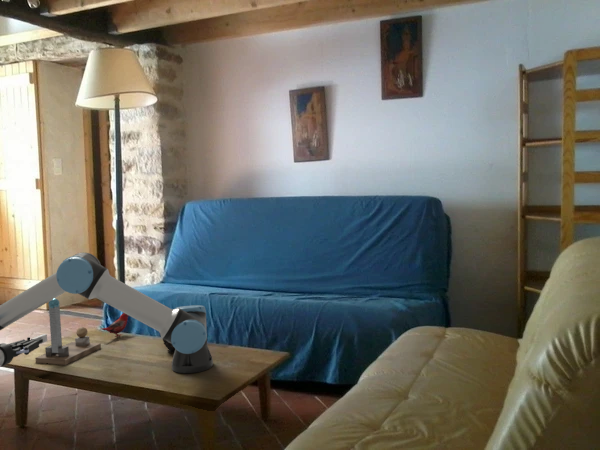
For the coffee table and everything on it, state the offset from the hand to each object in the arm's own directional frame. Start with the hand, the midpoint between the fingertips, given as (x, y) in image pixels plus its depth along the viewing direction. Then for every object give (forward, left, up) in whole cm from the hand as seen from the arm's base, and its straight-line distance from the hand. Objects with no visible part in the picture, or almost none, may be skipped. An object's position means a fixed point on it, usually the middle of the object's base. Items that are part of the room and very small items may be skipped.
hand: (45, 337), depth 210 cm
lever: (+3, -5, -7) cm, 9 cm away
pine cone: (-21, -47, -11) cm, 53 cm away
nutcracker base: (+7, -11, -11) cm, 17 cm away
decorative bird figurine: (+17, -36, -11) cm, 41 cm away
